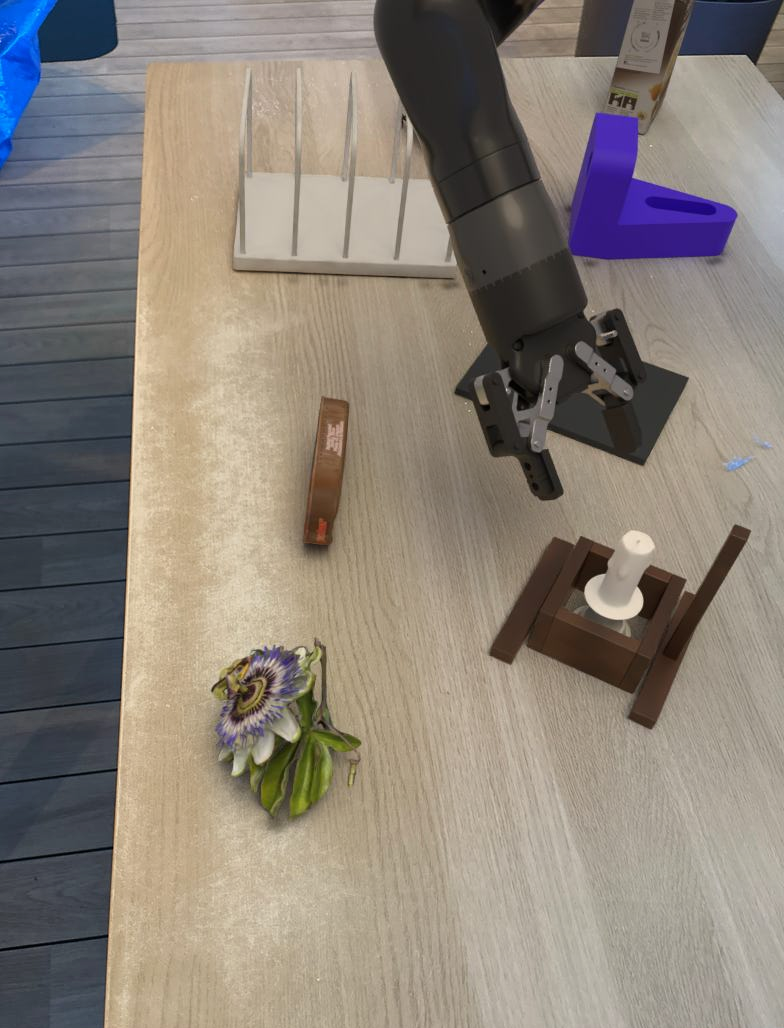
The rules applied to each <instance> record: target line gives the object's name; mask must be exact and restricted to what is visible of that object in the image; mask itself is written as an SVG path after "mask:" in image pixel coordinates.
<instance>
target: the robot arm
mask: <svg viewBox="0 0 784 1028" xmlns="http://www.w3.org/2000/svg"><path fill="white" fill-rule="evenodd" d="M545 1H546V0H375V4H374V9H373V21H372V22H373V24H372V25H373V34H374V38H375V43H376V45H377V49H378V51H379V53H380V55H381V58H382V61H383V63H384V65H385V68H386V70H387V72H388V74H389V77H390V79H391V82H392V84H393V86H394V89H395V91H396V93H397V96H398V99H399V98H400V100H401V102H402V105H403V110H404V111H405V115H406V114H407V116H408V118H409V120H410V123H411V125H412V127H413V132H414V134H415V136H416V138H417V141H418V143H419V145H420V148H421V149H420V150H421V153H422V157H423V163H424V165H425V169H426V173H427V176H428V180H430V182H431V185H432V188H433V191H434V194H435V196H436V199H437V202H438V204H439V207H440V209H441V212H442V215H443V217H444V220H445V223H446V224H448V225H447V228H448V231H449V234H450V238H451V243H452V247H453V251H454V255H455V259H456V262H457V267H458V270H459V272H460V275H461V278H462V280H463V284H464V285H465V288H466V291H467V293H468V296H469V299H470V301H471V304H472V306H473V307H472V308H473V309H474V312H475V315H476V317H477V320H478V323H479V325H480V327H481V331H482V333H483V335H484V338H485V341H486V343H487V344H488V345H489V346H490V347H492V348H493V349H494V350H495V351H496V352H497V354H498V357H499V370H498V371H496V372H493V373H489V374H486V375H483V376H479V377H476V378H473V379H471V380H470V381H469V383H468V389H469V392H470V395H471V398H472V400H471V401H472V405H473V407H474V410H475V413H476V416H477V419H478V422H479V425H480V428H481V431H482V434H483V437H484V440H485V443H486V446H487V449H488V452H489V455H490V456H491V457H492V458H494V459H498V458H506V457H514V458H516V459H517V461H518V462H519V465H520V467H521V471H522V473H523V475H524V477H525V480H526V482H527V485H528V489H529V491H530V493H531V494H532V495H533V496H534V497H536V498H538V500H539V501H541V502H549V501H555V500H557V499H559V498H561V497H563V495H564V494H565V490H564V487H563V484H562V482H561V479H560V476H559V474H558V471H557V468H556V465H555V463H554V460H553V457H552V455H551V453H550V450H549V448H545V445H546V440H547V439H546V438H547V432H548V429H547V426H548V423H549V422H550V421H551V420H552V418H553V415H554V410H555V405H559V404H561V403H563V402H565V401H566V400H567V399H568V398H569V397H570V396H571V395H572V394H576V393H580V392H581V393H587V394H589V395H590V396H591V397H593V398H594V399H595V400H597V401H598V402H599V403H601V404H602V405H605V406H606V408H605V409H603V410H601V411H602V414H603V417H604V420H605V422H606V425H607V428H608V431H609V434H610V437H611V439H612V442H613V445H614V448H615V450H616V452H617V453H619V454H626V453H633V452H635V451H637V450H638V449H640V448H641V447H642V441H641V439H642V431H641V428H640V425H639V422H638V420H637V417H636V414H635V411H634V408H633V405H632V402H631V399H632V397H633V391H634V390H635V388H636V387H637V386H638V384H642V383H644V382H645V381H646V378H647V374H646V371H645V368H644V366H643V363H642V361H643V360H642V359H641V355H640V352H639V351H638V348H637V345H636V343H635V340H634V338H633V335H632V333H631V330H630V328H629V325H628V323H627V320H626V317H625V315H624V312H623V310H622V309H620V308H618V307H617V308H612V309H608V310H606V311H602V312H600V313H597V314H595V315H592V316H591V317H590V318H589V319H588V318H587V316H586V315H585V312H584V310H585V309H586V308H587V307H588V303H589V300H588V297H587V293H586V290H585V288H584V285H583V282H582V279H581V276H580V273H579V270H578V268H577V265H576V262H575V259H574V256H573V255H572V253H571V250H570V247H569V245H568V242H569V241H568V239H567V236H566V233H565V231H564V228H563V224H562V222H561V219H560V216H559V214H558V211H557V209H556V207H555V204H554V202H553V200H552V199H551V196H550V195H549V193H548V191H547V189H546V187H545V184H544V181H543V180H542V179H541V178H542V176H541V173H540V169H539V168H538V165H537V161H536V159H535V156H534V153H533V151H532V147H531V143H530V142H529V141H528V140H529V138H528V136H527V134H526V131H525V129H524V126H523V124H522V122H521V120H520V118H519V116H518V113H517V111H516V110H515V106H514V105H513V102H512V100H511V96H510V94H509V89H508V86H507V81H506V78H505V74H504V70H503V67H502V63H501V60H500V56H499V52H498V48H499V47H500V46H501V45H502V44H503V43H504V42H505V41H506V40H508V38H509V37H510V36H511V35H512V34H513V33H514V32H515V31H517V29H518V28H519V27H520V26H521V25H522V24H523V23H524V22H525V21H526V20H527V19H528V18H530V16H531V15H532V14H533V13H534V12H535V11H536V9H538V8H539V7H540V6H541V5H542V4H543V3H544V2H545ZM596 345H597V347H598V350H599V352H600V354H601V357H602V358H601V357H599V356H598V355H597V354H596V353H595V346H596ZM620 358H622V359H623V361H624V363H625V366H626V368H627V371H625V370H624V368H623V365H622V363H621V360H620ZM510 388H511V389H512V390H513V391H514V397H513V404H512V407H511V404H510V401H509V398H508V395H509V394H510V393H511V389H510ZM530 403H531V404H532V405H534V406H535V407H534V408H531V409H529V407H530Z"/></svg>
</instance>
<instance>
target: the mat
mask: <svg viewBox="0 0 784 1028" xmlns="http://www.w3.org/2000/svg"><path fill="white" fill-rule="evenodd" d="M595 353H596V354H597V355H598V356H599V357H601V354H600V352H599V350H598V347H597V345H596V346H595ZM601 358H602V357H601ZM620 360H621V363H622V365H623V368H624V370H625V371H627V368H626V366H625V363H624V361H623V359H622V358H620ZM642 363H643V366H644V368H645V371H646V374H647V378H646V381H645V382H644V383H642V384H638V386H637V387H636V388H635V390H634V391H633V397H632V399H631V402H632V405H633V408H634V411H635V414H636V417H637V420H638V422H639V425H640V428H641V431H642V439H641V441H642V447H641V448H640V449H638V450H637V451H635V452H633V453H626V454H619V453H617V452H616V450H615V448H614V445H613V442H612V439H611V437H610V434H609V431H608V428H607V425H606V422H605V420H604V417H603V414H602V411H601V410H603V409H605V408H606V406H605V405H602V404H601V403H599V402H598V401H597V400H595V399H594V398H593V397H591V396H590V395H589V394H587V393H581V392H580V393H576V394H572V395H571V396H570V397H569V398H568V399H567V400H566V401H565V402H563V403H561V404H559V405H555V410H554V415H553V418H552V420H551V421H550V422H549V423H548V426H547V430H549V431H551V432H554V433H557V434H560V435H562V436H564V437H568V438H570V439H573V440H575V441H578V442H580V443H583V444H586V445H589V446H591V447H593V448H596V449H599V450H601V451H604V452H606V453H608V454H611V455H614V456H617V457H620V458H622V459H624V460H627V461H630V462H632V463H635V464H637V465H640V466H645V464H646V462H647V460H648V458H649V456H650V454H651V452H653V449H654V447H655V445H656V443H657V441H658V439H659V437H660V435H661V434H662V431H664V428H665V426H666V424H667V422H668V420H669V418H670V416H671V414H672V412H673V411H674V409H675V407H676V405H677V403H678V402H679V399H680V397H681V396H682V393H683V391H684V390H685V388H686V386H687V384H688V382H689V379H690V377H688V376H686V375H683V374H681V373H677V372H675V371H672V370H669V369H666V368H663V367H660V366H659V365H655V364H653V363H650V362H646V361H644V360H642ZM498 370H499V357H498V354H497V352H496V351H495V350H494V349H493V348H492V347H490V346H489V345H488V343H487V344H486V345H485V346H484V348H483V349H482V350H481V352H480V353H479V355H478V356H477V358H476V359H475V360H474V362H473V363H472V365H471V366H470V367H469V369H468V370H467V371H466V373H465V374H464V375H463V377H462V378H461V379H460V381H458V384H457V385H456V386H455V389H454V394H456V395H458V396H461V397H463V398H466V399H469V400H471V401H472V398H471V395H470V392H469V389H468V383H469V381H470V380H471V379H473V378H476V377H479V376H483V375H486V374H489V373H493V372H496V371H498ZM510 389H511V388H510ZM513 397H514V391H513V390H512V389H511V393H510V394H509V395H508V398H509V401H510V404H511V407H512V404H513ZM534 407H535V406H534V405H532V404H531V403H530V407H529V409H531V408H534Z"/></svg>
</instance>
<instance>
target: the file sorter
mask: <svg viewBox="0 0 784 1028" xmlns="http://www.w3.org/2000/svg"><path fill="white" fill-rule="evenodd" d="M357 77H358V76H357V70H351V71H350V76H349V85H348V86H349V88H348V98H347V112H346V126H345V139H344V153H343V164H342V165H343V166H342V175H336V174H334V175H333V174H314V173H313V174H311V173H302V152H303V151H302V150H303V92H302V91H303V89H302V68H301V67H296V69H295V99H294V100H295V102H294V104H295V105H294V122H295V123H294V124H295V125H294V173H289V172H288V173H286V172H285V173H284V172H258V171H253V72H252V68H251V67H246V68H245V75H244V83H243V91H242V100H241V101H242V102H241V111H240V119H239V121H240V122H239V135H238V204H237V214H236V223H235V232H234V234H235V235H234V243H233V244H234V245H233V253H232V254H233V255H232V257H233V258H232V262H233V263H232V268H233V270H236V271H258V272H259V271H262V272H286V273H308V274H329V275H330V274H331V275H332V274H333V275H358V276H382V277H383V276H385V277H386V276H387V277H388V276H390V277H409V278H434V279H435V278H436V279H437V278H438V279H455V278H456V274H457V267H458V265H457V262H456V259H455V255H454V251H453V247H452V243H451V238H450V234H449V231H448V228H447V225H448V224H446V223H445V220H444V217H443V215H442V212H441V209H440V207H439V204H438V202H437V199H436V196H435V194H434V191H433V188H432V185H431V182H430V179H420V178H410V172H411V163H412V154H413V142H414V141H413V140H414V129H413V127H412V125H411V123H410V120H409V118H408V116H407V114H406V113H405V116H406V121H405V122H406V124H405V125H406V144H405V145H406V147H405V157H404V159H405V160H404V168H403V178H401V177H400V178H398V177H396V170H397V162H398V154H399V146H400V137H401V129H402V123H401V121H402V113H403V114H404V107H403V105H402V102H401V100H400V98H399V97H398V104H397V114H396V123H395V131H394V138H393V149H392V158H391V167H390V176H389V177H379V176H357V175H356V167H357V155H358V154H357V153H358V139H359V137H358V136H359V110H358V109H359V108H358V107H359V106H358V78H357ZM350 145H351V146H350ZM245 146H246V147H245ZM350 147H351V150H350ZM245 148H246V152H245ZM245 154H246V155H245ZM245 156H246V157H245ZM349 157H350V163H349ZM245 158H246V160H245ZM245 161H246V163H245ZM245 164H246V165H245ZM245 166H246V168H245ZM348 171H349V174H348Z"/></svg>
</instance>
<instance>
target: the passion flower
mask: <svg viewBox="0 0 784 1028" xmlns="http://www.w3.org/2000/svg"><path fill="white" fill-rule="evenodd" d="M313 639H314V642H313V645H314V648H313V651H312V652H310V651H309V649H308V646H306V645H299V646H295V647H294V648H292V649H291V650H288V649H286V650H285V646H284V645H279V646H277V645H276V644H273V645H272V649H268V647H267V645H264V646H263V647H264V648H263V649H261V648H255V649H251V650H250V653H249V655H247V656H245V657H242V658H238V659H235V660H234V661H233V662H232V663H230V665H229V666H227V667H223V668H222V669H221V670H220V673H219V676H218V681H217V682H216V683H214V684H213V685H212V687H211V689H210V692H211V694H212V696H213V698H215V699H216V700H218V701H220V702H222V701H226V702H225V705H224V706H222V708H221V710H222V711H221V713H220V714H219V717H221V721H219V723H218V724H217V725H216V726H215V732H216V733H217V735H219V736H220V737H221V739H220V740H219V742H217V744H216V745H215V749H218V748H219V746H220V749H221V750H220V752H219V756H218V761H219V762H221V763H226V764H229V763H232V769H231V773H230V775H231V777H233V778H236V777H237V778H238V777H239V776H242V775H244V774H245V773H247V772H250V773H249V776H250V777H249V786H250V788H251V791H252V792H253V793H254V794H257V792H258V787H259V784H260V797H259V799H260V802H261V805H262V808H264V809H265V810H267V811H268V812H269V813H270V815H271V817H273V818H276V817H277V814H278V810H279V809H280V807H281V806H282V804H283V802H284V800H285V798H286V793H287V787H288V782H289V778H290V769H291V767H292V765H293V763H294V762H295V761H296V767H295V769H294V770H295V771H294V775H293V784H292V785H293V786H292V794H291V796H290V797H289V810H288V811H289V817H288V818H289V821H290V822H292V821H294V820H295V819H296V818H298V817H300V816H302V815H305V814H306V813H307V811H309V810H310V809H312V807H314V805H316V804H317V803H318V802H319V801H320V800H321V799H322V797H323V796H324V795H325V794H326V793H327V792H328V791H329V788H330V785H331V782H332V778H333V776H334V767H333V765H334V764H333V760H332V754H331V750H330V748H331V749H332V750H333V751H335V752H341V753H345V752H352V751H354V752H355V754H356V755H357V756H358V759H354V758H349V759H348V762H349V771H348V772H349V773H348V776H347V782H346V783H347V787H348V788H353V786H354V785H355V781H356V775H357V768H358V766H359V764H360V762H361V760H362V755H361V754H360V752H359V751H358V750H357V749H358V748H359V747H360V746H361V745H362V740H360V739H359V738H357V737H356V736H354V735H352V734H349V733H345V732H344V731H343V732H342V731H340V730H339V729H338V728H336V727H334V724H333V721H332V717H331V712H330V709H329V705H328V702H327V701H328V700H327V698H328V694H327V689H328V686H327V662H328V656H327V646H325V644H323V643H322V641H320V640H319V638H318V637H316V636H315V637H313ZM276 646H277V647H276ZM319 661H320V665H321V694H320V695H321V702H320V704H319V702H318V701H317V700H316V698H315V694H314V691H315V686H316V682H317V681H316V680H317V674H315V673H314V671H313V670H312V669H311V666H316V665H317V664H318V662H319ZM225 691H226V692H225ZM294 702H295V703H296V706H297V708H298V711H299V714H298V715H296V714H295V713H294V711H293V709H292V708H290V707H289V706H290V705H291V704H292V703H294ZM318 704H319V705H318ZM318 725H321V726H322V728H323V729H322V728H319V727H318ZM285 741H286V742H285ZM284 742H285V743H284ZM283 743H284V744H283ZM282 744H283V745H282ZM280 745H282V746H281V747H279V746H280ZM278 747H279V749H278ZM277 749H278V750H277ZM276 750H277V751H276ZM260 781H261V782H260Z"/></svg>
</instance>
